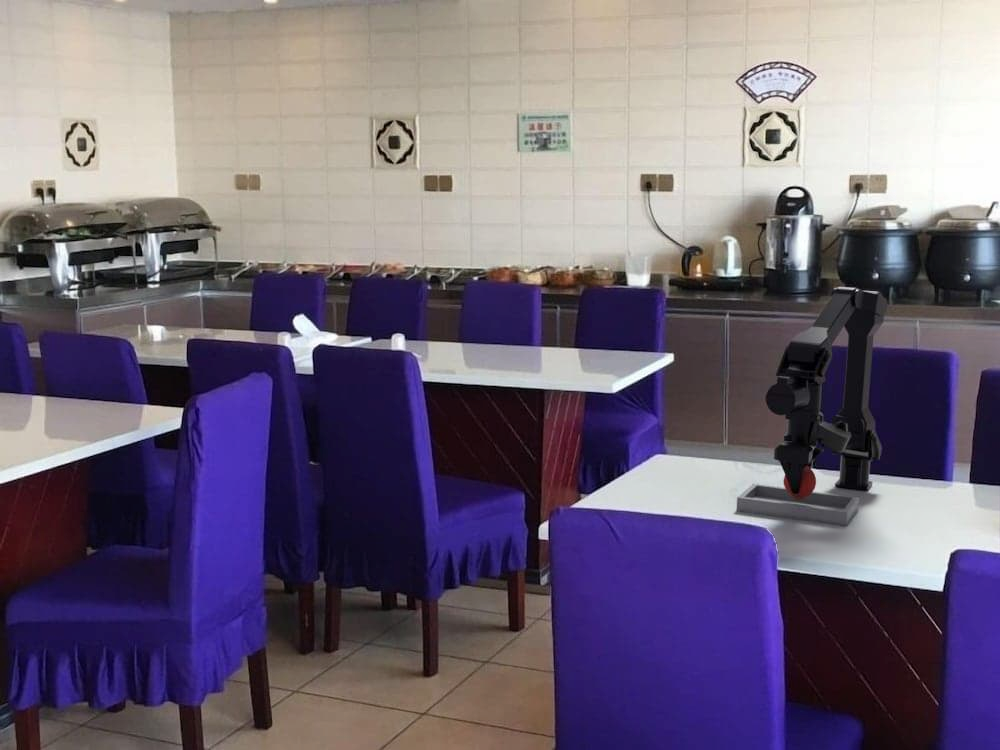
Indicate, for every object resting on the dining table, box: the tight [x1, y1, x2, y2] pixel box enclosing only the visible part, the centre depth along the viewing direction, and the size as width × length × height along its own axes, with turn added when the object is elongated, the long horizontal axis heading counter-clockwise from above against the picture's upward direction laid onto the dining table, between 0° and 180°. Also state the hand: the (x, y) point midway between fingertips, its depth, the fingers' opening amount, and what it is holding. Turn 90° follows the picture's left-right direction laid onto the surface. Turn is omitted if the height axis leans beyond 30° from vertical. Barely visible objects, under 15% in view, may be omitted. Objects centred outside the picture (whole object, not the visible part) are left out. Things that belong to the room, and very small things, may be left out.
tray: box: [736, 483, 860, 527], centre depth 225 cm, size 12×20×2 cm, turn 64°
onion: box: [783, 466, 817, 501], centre depth 225 cm, size 6×6×8 cm
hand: (799, 490), depth 225 cm, fingers closed on onion, 6 cm apart
